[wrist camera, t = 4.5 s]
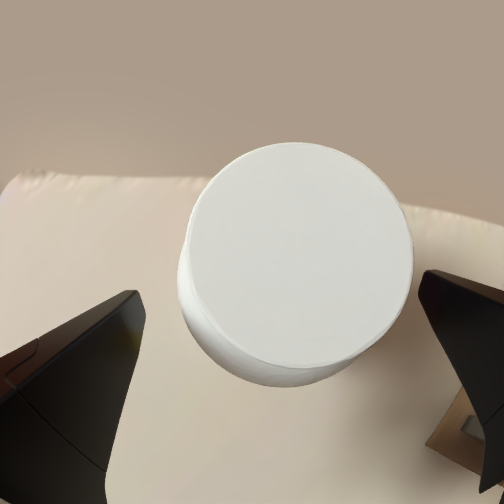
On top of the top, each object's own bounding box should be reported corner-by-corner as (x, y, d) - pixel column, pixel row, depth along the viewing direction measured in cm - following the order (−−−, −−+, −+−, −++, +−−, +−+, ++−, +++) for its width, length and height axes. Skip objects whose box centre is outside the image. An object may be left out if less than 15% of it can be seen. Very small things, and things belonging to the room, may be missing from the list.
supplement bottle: (335, 344, 17) (477, 362, 5) (226, 368, 17) (169, 450, 5) (310, 239, 19) (391, 100, 7) (205, 260, 19) (126, 138, 6)
